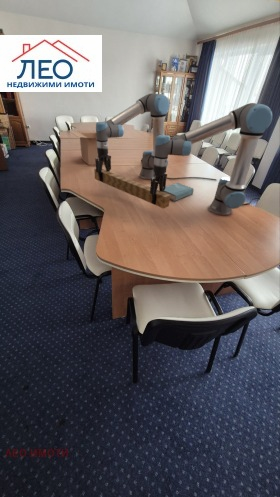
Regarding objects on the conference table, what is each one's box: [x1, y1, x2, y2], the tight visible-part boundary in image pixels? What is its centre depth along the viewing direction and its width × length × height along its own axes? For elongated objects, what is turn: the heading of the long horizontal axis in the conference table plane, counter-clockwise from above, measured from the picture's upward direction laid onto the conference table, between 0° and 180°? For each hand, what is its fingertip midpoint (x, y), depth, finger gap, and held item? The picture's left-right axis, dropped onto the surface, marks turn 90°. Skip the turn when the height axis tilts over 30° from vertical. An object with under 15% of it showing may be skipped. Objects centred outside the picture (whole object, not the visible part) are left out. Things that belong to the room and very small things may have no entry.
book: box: [163, 182, 194, 202], centre depth 175 cm, size 23×16×5 cm
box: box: [70, 129, 105, 166], centre depth 229 cm, size 44×36×27 cm
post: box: [93, 168, 171, 209], centre depth 152 cm, size 67×5×8 cm, turn 48°
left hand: (104, 180), depth 167 cm, fingers closed on post, 5 cm apart
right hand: (156, 202), depth 141 cm, fingers closed on post, 5 cm apart
